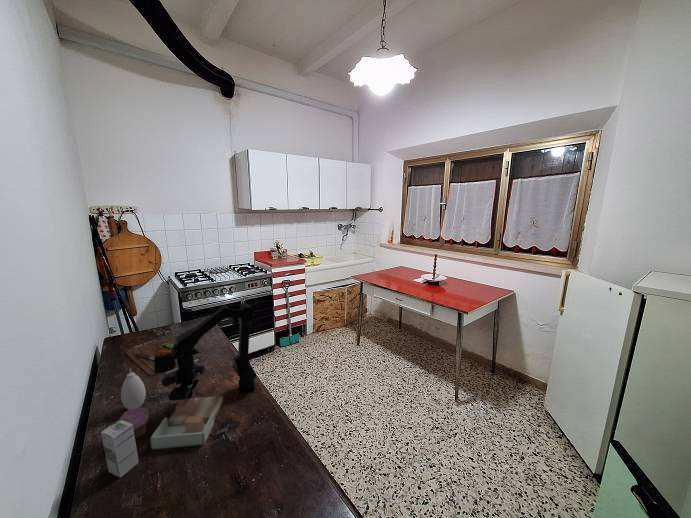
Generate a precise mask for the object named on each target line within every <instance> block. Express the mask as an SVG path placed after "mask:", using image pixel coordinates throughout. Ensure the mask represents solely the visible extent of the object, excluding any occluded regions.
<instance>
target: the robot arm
mask: <svg viewBox="0 0 691 518" xmlns="http://www.w3.org/2000/svg"><path fill="white" fill-rule="evenodd" d="M254 315H255V310H254V309H253V307H251V306H250V305H249V304H248V303H245V302H244V303H240V304H230V305H225V304H224V305H222V306H220V307H219V308H218V309H217V310H216V311H214V312H213V313H211V314H210V315H209V316H207V318H205V319H204V320H203V321H202V322H200V323H199V324H197V325H196V326H195V327H193V328H191V329H188V330H186V331H184V332H182V333H180V334H179V335H177V336H178V337H177V338H176V341H175V345H174V346H173V347H172V349H171V353H168V354H164V355H157V356H154V370H155V375H156V374H159V375H161V374H165V373H166V372H169V371H171V370H173V369H175V368H174V367H176V364H175V359H177V363H178V367H176V368H178V369H177V370H175V371H172V372H170V373H168V374H165V376H164V377H163V378H162V379H161V386H162V387H164V388H165V387H169V386H171V385H173V384H175V385H179V386H176V387H174V388H172V390H171V391H170V392H169V393H168V396H167V397H168V400H169V401H171V402H172V401H180V400H184V399H186V398H194V395H195V392H196V389H197V387H198V384H199V382H200V379H197V378H198V376H199V375H200V376H203V375H204V373H205V372H206V370H205V369H206V368H205V367H204V366H203V365H197V363H195V362H194V355H195V354H198V353H199V351H198V349H199V348H198V347H196V345H197V344H198V343H199V341H200V339H201V338H202V337H203V336H204V335H206V334H207V333H208V332H210V331H211V330H212V329H213V328H214V327H216V326H218V324H219V323H220V322H222V321H224V319H226V318H234V319H237V320H238V323H239V328H238V329H239V332H238V351H237V355H236V357H233V359H232V360H233V364H232V368H233V370H234V372H235V374H237V376H238V377H239V379H238V389H239V394H240V393H252V392H255V389H256V387H257V384H258V382H257V380H256V377H257V372H256V371H255V370H254V367H253V366H252V364H251V362H250V359H249V349H250V347H249V346H250V332H251V331H250V329H251V324H252V323H253V320H254ZM194 346H195V347H196V348H195V347H194ZM197 348H198V349H197ZM160 373H161V374H160ZM156 376H157V375H156Z"/></svg>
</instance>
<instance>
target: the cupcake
mask: <svg viewBox="0 0 691 518" xmlns="http://www.w3.org/2000/svg"><path fill="white" fill-rule="evenodd" d="M149 418H150V412H149V411H148V409H147V408H145V407H139V408H132V409H130V410H129V409H127V410H126V411H125V412H124V413H122V415H121V416H120V418H119V420H123V421H125V422H128V423H131V424H132V425H133V431H134V437H135V440H137V439H139V438H140V437H142V436H144V435H146V433H147V422H148V420H149ZM119 420H118V421H119Z"/></svg>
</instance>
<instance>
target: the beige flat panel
mask: <svg viewBox="0 0 691 518" xmlns="http://www.w3.org/2000/svg"><path fill="white" fill-rule="evenodd" d="M194 398H195V406H194V407H193V409H192V411H191V412H190V413H187V414H176V409H175V410H174V411H173V413H172V414H171V416H170V417H169V419H167V422H168V426H179V425H185V421H186V420H187V419H188V417H189V416H203V422H204V423H207V422H208V420H209V418H210V416H211V414H212V413H213V415H214V421H215V420H216V419H217V416H218V414H219V411H220V410H221V408H222V405H223V403H224V396H223V395H221V396H220V395H219V396H208V397H207V396H206V397H205V396H204V397H194Z"/></svg>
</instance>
